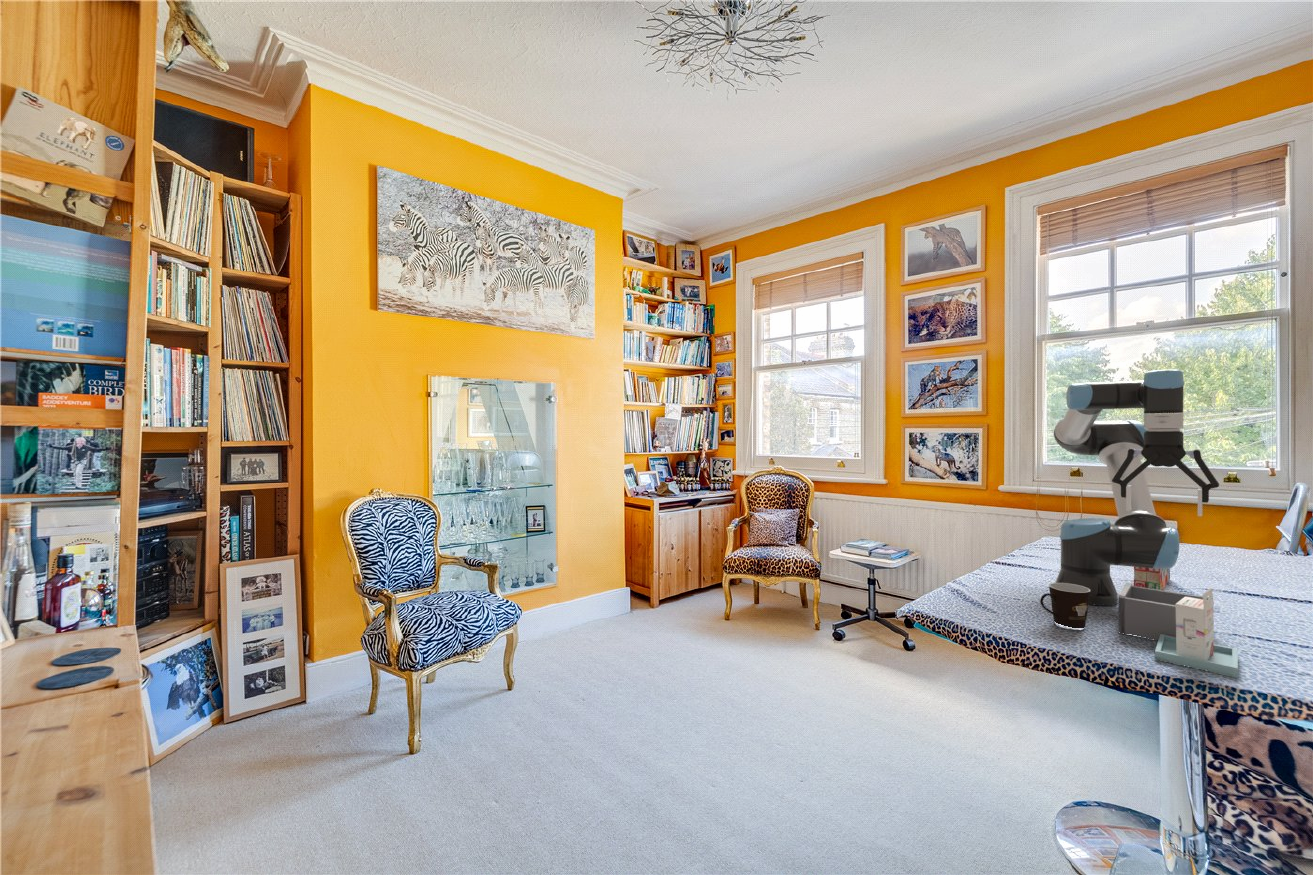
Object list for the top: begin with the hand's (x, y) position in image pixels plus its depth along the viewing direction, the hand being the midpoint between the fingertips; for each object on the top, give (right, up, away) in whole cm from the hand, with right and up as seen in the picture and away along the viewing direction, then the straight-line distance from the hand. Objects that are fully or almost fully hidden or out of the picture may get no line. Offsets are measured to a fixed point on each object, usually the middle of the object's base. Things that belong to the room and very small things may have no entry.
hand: (1163, 512), depth 143 cm
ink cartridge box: (-12, -29, -20) cm, 37 cm away
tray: (-12, -29, -21) cm, 38 cm away
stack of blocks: (+28, -28, +35) cm, 53 cm away
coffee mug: (-26, -29, +1) cm, 39 cm away
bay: (-5, -29, -6) cm, 30 cm away
